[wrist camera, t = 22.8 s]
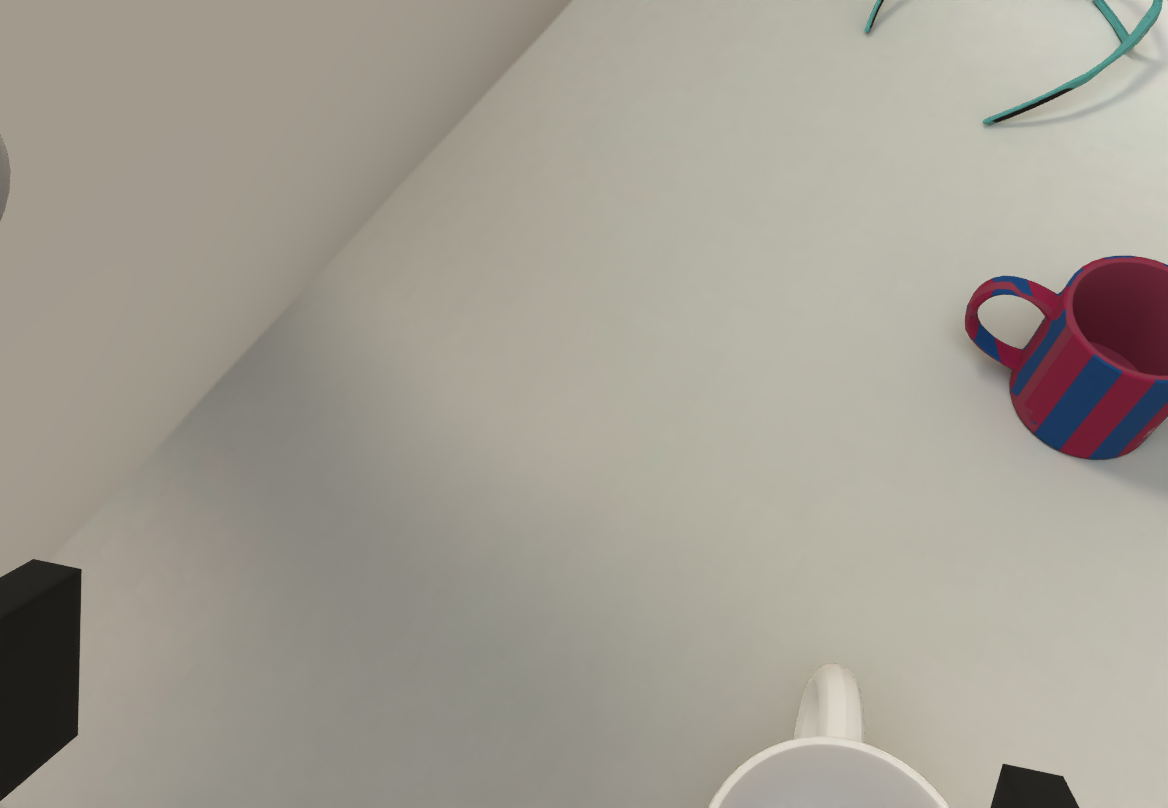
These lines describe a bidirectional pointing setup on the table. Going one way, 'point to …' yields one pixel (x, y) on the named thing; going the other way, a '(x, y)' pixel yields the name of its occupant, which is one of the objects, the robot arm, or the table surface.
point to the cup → (1088, 356)
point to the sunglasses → (1126, 45)
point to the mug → (827, 760)
